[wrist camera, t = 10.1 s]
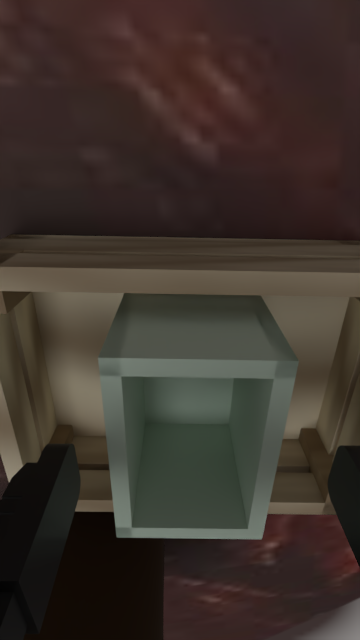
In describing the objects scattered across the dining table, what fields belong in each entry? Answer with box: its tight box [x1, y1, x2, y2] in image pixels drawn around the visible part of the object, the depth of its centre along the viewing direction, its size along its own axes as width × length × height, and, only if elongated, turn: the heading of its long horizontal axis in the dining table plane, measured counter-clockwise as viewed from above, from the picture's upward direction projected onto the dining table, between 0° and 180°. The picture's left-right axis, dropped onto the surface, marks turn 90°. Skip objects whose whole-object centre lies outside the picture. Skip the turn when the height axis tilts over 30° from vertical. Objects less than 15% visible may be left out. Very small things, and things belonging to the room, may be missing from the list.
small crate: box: [98, 293, 299, 539], centre depth 14 cm, size 8×6×6 cm
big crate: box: [0, 234, 360, 515], centre depth 15 cm, size 12×16×5 cm
